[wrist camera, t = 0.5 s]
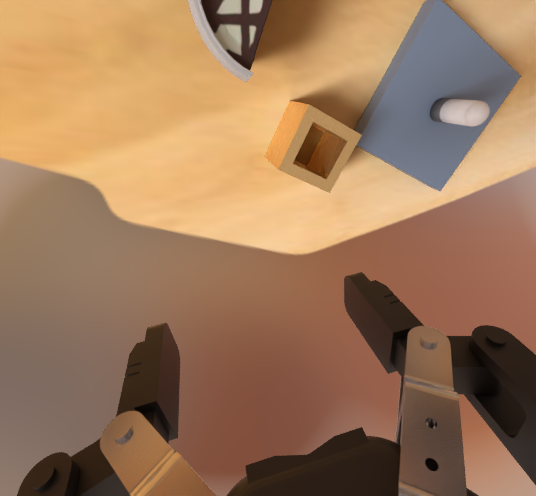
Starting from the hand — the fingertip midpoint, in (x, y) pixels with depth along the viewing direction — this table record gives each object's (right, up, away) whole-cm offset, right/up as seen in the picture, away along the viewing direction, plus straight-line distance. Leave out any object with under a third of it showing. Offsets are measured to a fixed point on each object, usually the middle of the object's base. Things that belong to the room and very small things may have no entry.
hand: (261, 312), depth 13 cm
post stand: (+20, +20, +23) cm, 36 cm away
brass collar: (+4, +15, +21) cm, 27 cm away
